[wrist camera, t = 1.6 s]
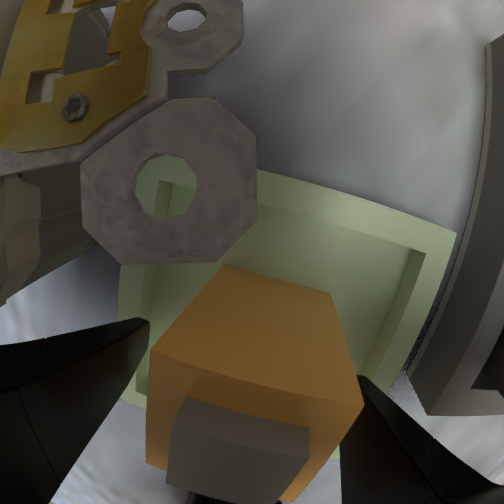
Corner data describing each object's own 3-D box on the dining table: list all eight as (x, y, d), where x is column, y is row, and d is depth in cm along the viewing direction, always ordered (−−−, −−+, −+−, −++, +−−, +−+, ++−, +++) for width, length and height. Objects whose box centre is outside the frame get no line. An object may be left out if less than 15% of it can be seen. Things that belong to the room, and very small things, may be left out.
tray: (339, 435, 12) (342, 458, 11) (132, 378, 13) (116, 397, 12) (436, 226, 10) (457, 233, 8) (161, 150, 11) (140, 146, 9)
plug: (297, 379, 11) (291, 524, 5) (203, 353, 12) (135, 483, 5) (330, 293, 10) (372, 435, 4) (223, 264, 11) (129, 373, 4)
